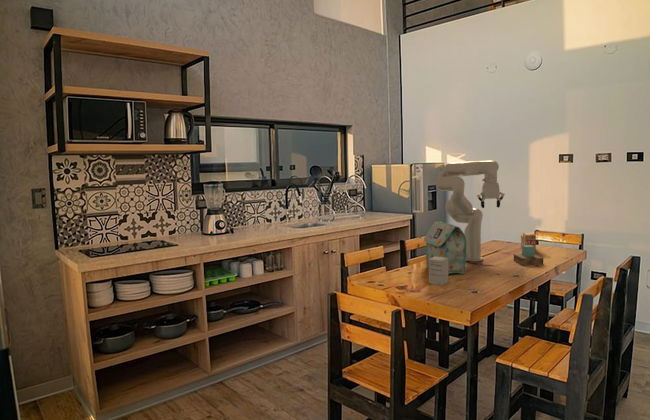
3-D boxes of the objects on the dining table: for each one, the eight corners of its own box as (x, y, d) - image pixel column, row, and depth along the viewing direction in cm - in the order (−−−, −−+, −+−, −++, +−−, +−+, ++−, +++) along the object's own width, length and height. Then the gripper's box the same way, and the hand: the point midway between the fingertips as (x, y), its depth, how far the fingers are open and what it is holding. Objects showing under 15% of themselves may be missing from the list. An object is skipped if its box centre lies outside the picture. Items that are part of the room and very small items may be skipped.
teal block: (525, 257, 264) (525, 246, 264) (522, 255, 269) (522, 245, 269) (534, 256, 264) (534, 246, 264) (530, 255, 269) (530, 245, 269)
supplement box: (435, 280, 234) (435, 256, 232) (448, 282, 229) (448, 257, 228) (428, 283, 228) (428, 258, 227) (442, 285, 223) (442, 260, 222)
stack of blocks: (520, 247, 315) (520, 230, 313) (530, 248, 313) (530, 230, 312) (525, 253, 294) (525, 234, 293) (535, 254, 292) (536, 234, 291)
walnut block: (522, 265, 261) (522, 258, 261) (513, 261, 273) (513, 254, 273) (543, 264, 261) (543, 257, 261) (533, 260, 273) (533, 253, 273)
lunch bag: (422, 267, 263) (421, 221, 261) (447, 265, 267) (447, 219, 265) (441, 276, 241) (441, 226, 239) (469, 274, 245) (469, 224, 243)
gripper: (479, 181, 287) (478, 208, 288) (506, 180, 287) (506, 207, 288) (475, 180, 294) (475, 207, 296) (502, 180, 294) (501, 206, 296)
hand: (490, 207), depth 292 cm, fingers open, 9 cm apart
